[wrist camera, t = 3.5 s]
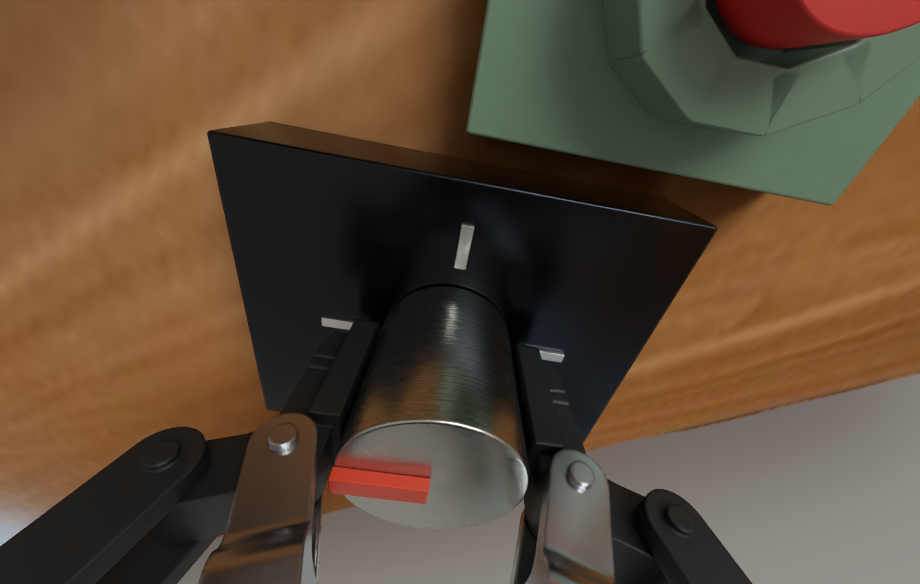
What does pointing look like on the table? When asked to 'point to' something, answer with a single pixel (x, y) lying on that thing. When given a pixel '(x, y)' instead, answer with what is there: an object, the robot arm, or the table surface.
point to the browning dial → (436, 418)
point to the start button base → (689, 93)
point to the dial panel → (443, 252)
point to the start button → (814, 20)
